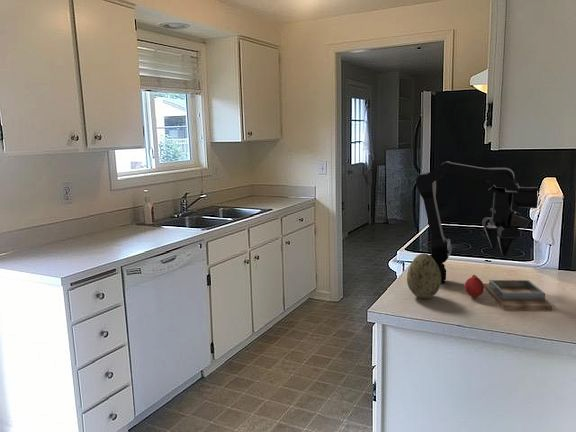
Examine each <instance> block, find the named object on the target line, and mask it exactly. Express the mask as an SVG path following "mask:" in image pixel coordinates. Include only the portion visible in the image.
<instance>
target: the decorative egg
mask: <svg viewBox="0 0 576 432" xmlns="http://www.w3.org/2000/svg"><path fill="white" fill-rule="evenodd" d="M406 275H407V276H406V283H407V286H408V289H409V290H410V292H411V293H412V295H414V296H415V297H417V298H419V299H429V298H432V297H433V296H435V295H436V294H437V293H438V292H439V290H440V288H441V286H442V283H441V273H440V270H439V267H438V265H437V263H436V262H435V260H434V259H433V258H432V257H431V256H430V254H428V253H426V252H425V253H424V252H423V253H420V254H418V255H416V257H414V258H413V260H412V261H411V263H410V264H409V267H408V270H407V274H406Z"/></svg>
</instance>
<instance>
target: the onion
mask: <svg viewBox="0 0 576 432" xmlns="http://www.w3.org/2000/svg"><path fill="white" fill-rule="evenodd" d="M484 290H485V289H484V285H483V281H482V280H481V278H479V277H478V276H477V274H472V276H471V277H469V278H468V279H467V280H465V283H464V291H465V292H466V294H467V295H469V296H470V297H471V299H476V298H479V297H480V296H481V295H482V294H483V292H484Z"/></svg>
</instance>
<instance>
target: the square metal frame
mask: <svg viewBox="0 0 576 432" xmlns="http://www.w3.org/2000/svg"><path fill="white" fill-rule="evenodd" d="M488 284H489V288H490V289H491V290H492V291H493V292H494V293H495V294H496V295H497V296H498V297H499V298H500V299H501V300H502V301H545V300H546V292H544V291H543V290H542V289H540V288H539V287H538V286H536V285H535V283H533V282H532V281H530V279H529V280H528V279H523V280H522V279H491V280H490V279H489V283H488ZM500 288H527V289H528V290H529V291H531V292H504V291H502V290H501V289H500Z"/></svg>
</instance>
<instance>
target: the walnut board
mask: <svg viewBox="0 0 576 432" xmlns="http://www.w3.org/2000/svg"><path fill="white" fill-rule="evenodd" d="M482 283H483V282H482ZM483 285H484V290H485V291H486V292H487V294H489V295H490V297H491V298H492V299H493V300H494V302H496V303H497V305H498V306H499V307H501V309H502V310H504V311H553V305H552V304H551V303H550V302H549V301H547V299H545V301H502V300H501V299H500V298H499V297H498V296H497V295H496V294H495V293H494V292H493V291H492V290H491V289H490V288H489V283H483ZM500 289H501V290H502V291H504V292H531V291H529V290H528V289H527V288H500Z"/></svg>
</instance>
